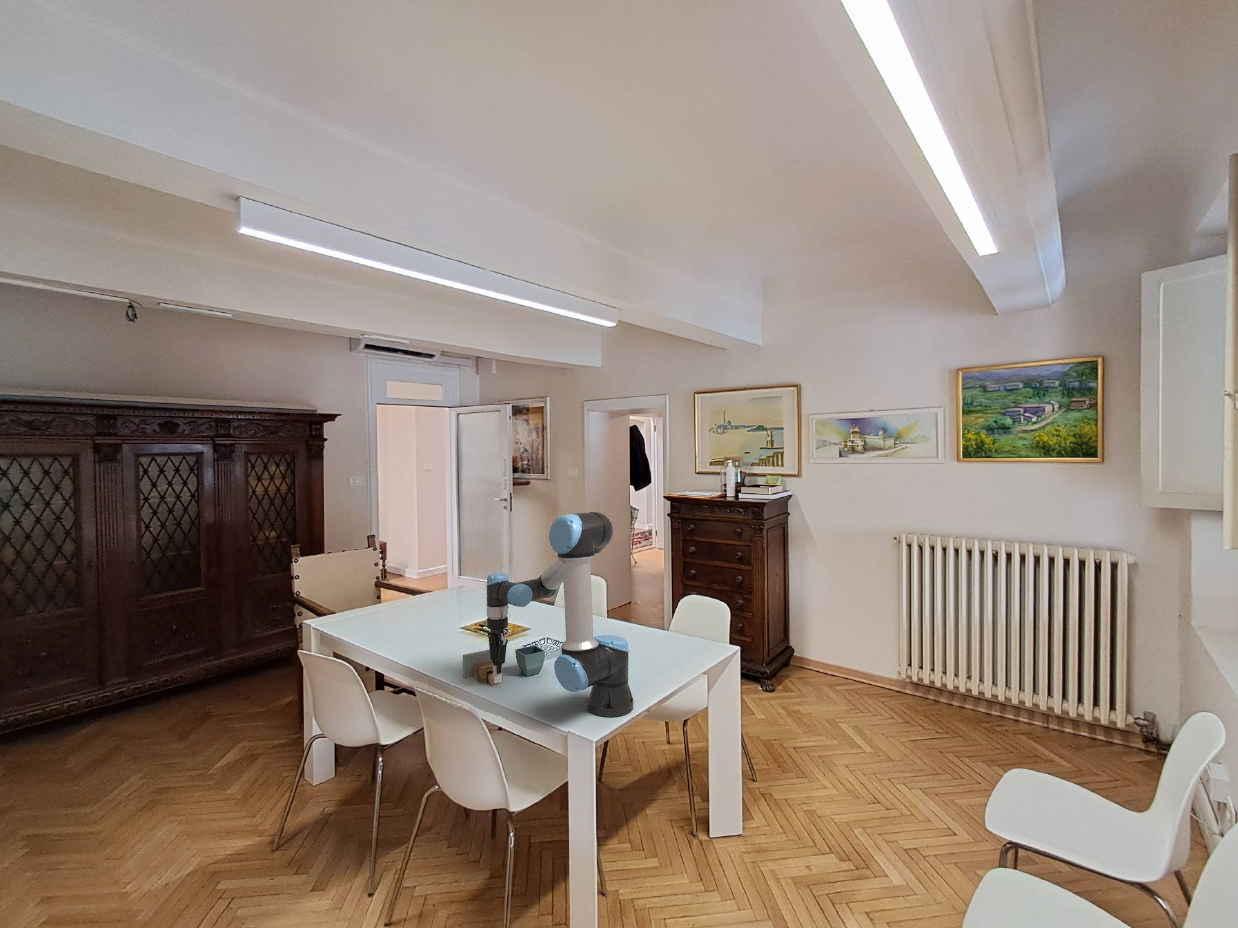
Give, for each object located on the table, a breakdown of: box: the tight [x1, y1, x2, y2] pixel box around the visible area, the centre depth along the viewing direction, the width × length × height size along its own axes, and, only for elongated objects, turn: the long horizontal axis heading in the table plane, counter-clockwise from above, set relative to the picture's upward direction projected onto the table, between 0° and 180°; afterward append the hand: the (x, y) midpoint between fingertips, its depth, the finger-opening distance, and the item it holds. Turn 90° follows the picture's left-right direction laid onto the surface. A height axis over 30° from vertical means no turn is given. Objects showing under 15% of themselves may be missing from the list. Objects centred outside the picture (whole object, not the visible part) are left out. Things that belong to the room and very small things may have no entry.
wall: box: [462, 649, 490, 678], centre depth 219 cm, size 2×14×8 cm, turn 125°
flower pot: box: [514, 645, 546, 677], centre depth 218 cm, size 9×9×9 cm
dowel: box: [487, 671, 501, 687], centre depth 211 cm, size 10×3×3 cm, turn 35°
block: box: [473, 659, 494, 685], centre depth 213 cm, size 8×8×6 cm
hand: (497, 681), depth 206 cm, fingers closed
